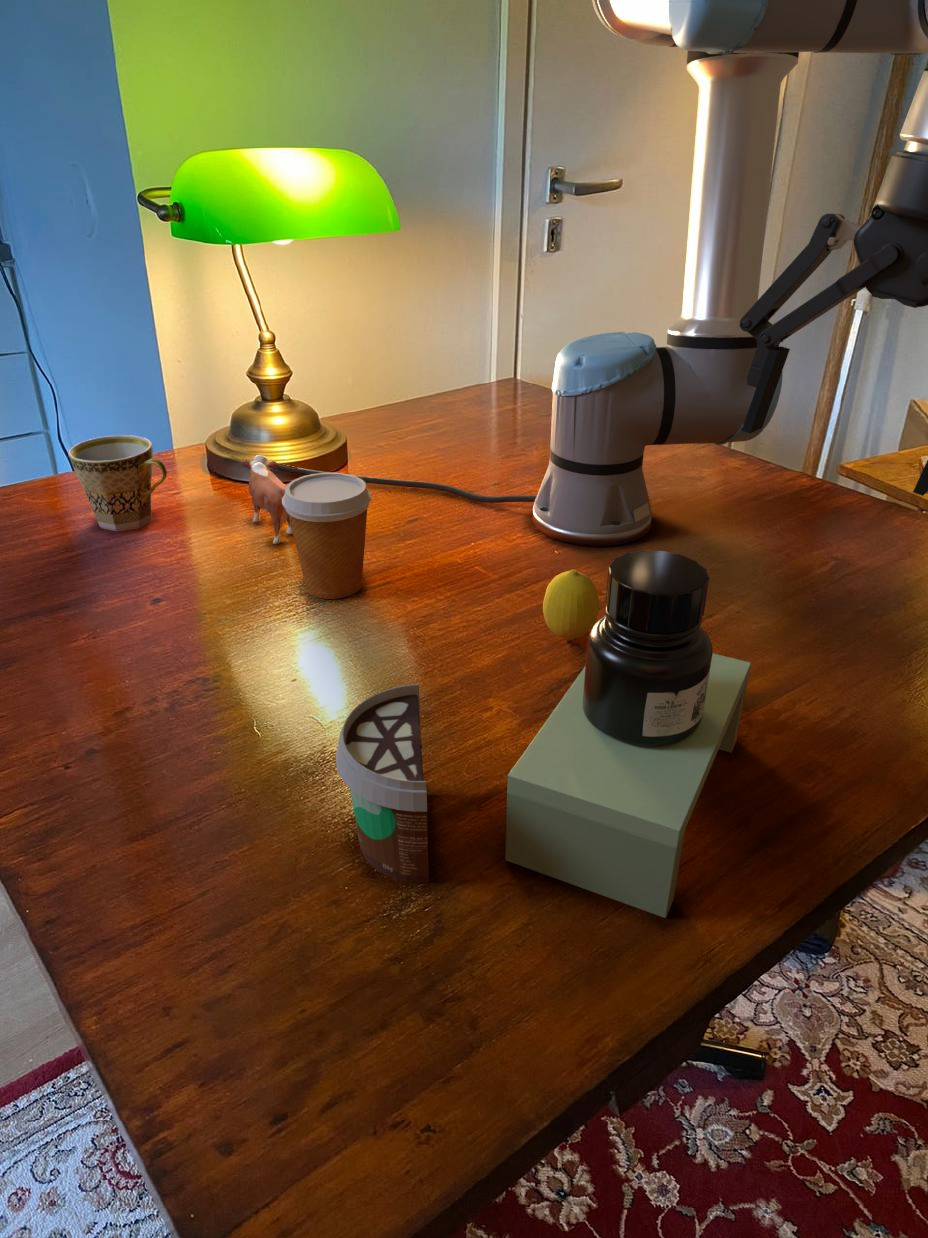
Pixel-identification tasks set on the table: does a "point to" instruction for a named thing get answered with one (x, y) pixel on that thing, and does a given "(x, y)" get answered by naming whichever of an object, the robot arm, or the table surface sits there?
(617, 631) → the ink bottle
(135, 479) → the ceramic cup
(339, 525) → the disposable coffee cup
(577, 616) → the lemon
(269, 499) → the bull figurine
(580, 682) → the shelf
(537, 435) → the table surface
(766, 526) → the table surface
